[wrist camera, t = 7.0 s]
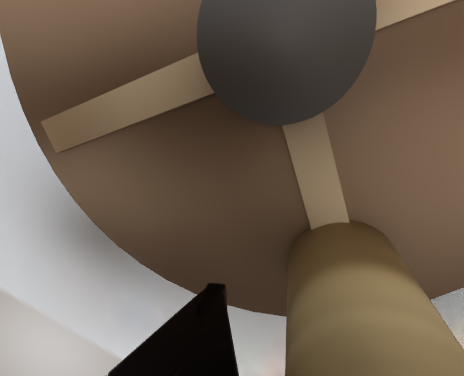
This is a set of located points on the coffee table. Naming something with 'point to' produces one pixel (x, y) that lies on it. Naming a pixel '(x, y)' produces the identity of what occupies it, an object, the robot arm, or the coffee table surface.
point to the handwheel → (268, 157)
